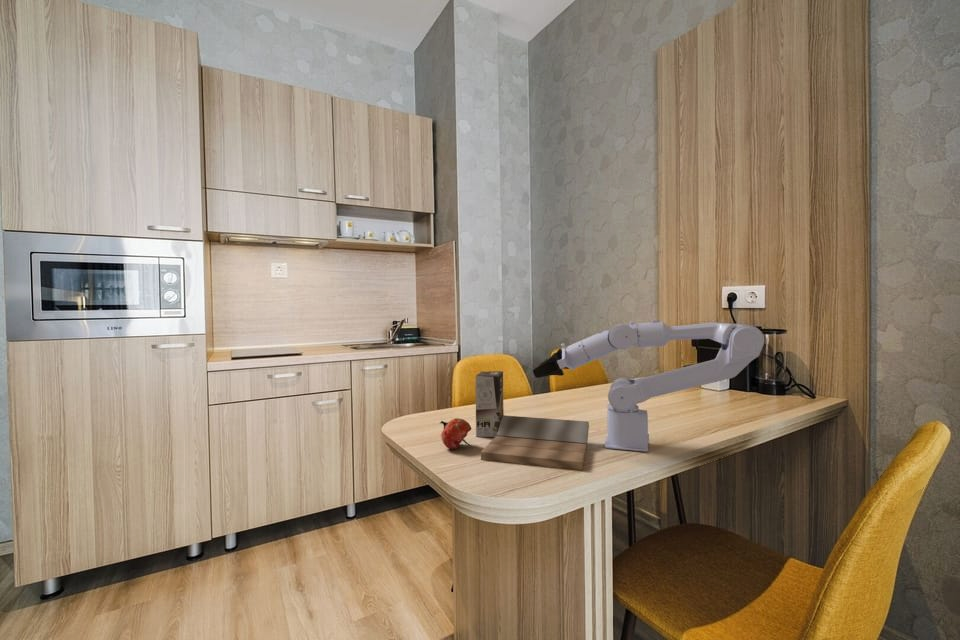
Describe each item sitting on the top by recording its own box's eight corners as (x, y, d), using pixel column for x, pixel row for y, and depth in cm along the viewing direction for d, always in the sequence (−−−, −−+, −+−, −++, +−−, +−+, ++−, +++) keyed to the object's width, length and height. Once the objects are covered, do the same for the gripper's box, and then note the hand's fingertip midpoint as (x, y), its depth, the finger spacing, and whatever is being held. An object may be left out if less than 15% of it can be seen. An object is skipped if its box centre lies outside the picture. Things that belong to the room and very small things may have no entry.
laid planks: (586, 451, 99) (586, 444, 99) (581, 470, 87) (581, 462, 87) (496, 442, 106) (496, 436, 106) (480, 459, 94) (480, 451, 94)
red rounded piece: (471, 451, 106) (441, 425, 108) (486, 431, 104) (456, 405, 106) (459, 465, 99) (427, 437, 102) (475, 444, 97) (442, 415, 99)
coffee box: (499, 438, 110) (498, 376, 109) (475, 437, 111) (474, 375, 110) (504, 428, 119) (503, 370, 118) (482, 427, 120) (481, 370, 119)
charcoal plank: (588, 425, 105) (588, 421, 105) (587, 447, 100) (586, 443, 99) (503, 419, 113) (502, 415, 112) (497, 439, 107) (496, 435, 106)
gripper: (582, 333, 112) (537, 353, 117) (575, 339, 99) (524, 361, 103) (594, 357, 112) (547, 376, 116) (589, 367, 98) (536, 388, 103)
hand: (537, 371), depth 110 cm, fingers open, 7 cm apart
